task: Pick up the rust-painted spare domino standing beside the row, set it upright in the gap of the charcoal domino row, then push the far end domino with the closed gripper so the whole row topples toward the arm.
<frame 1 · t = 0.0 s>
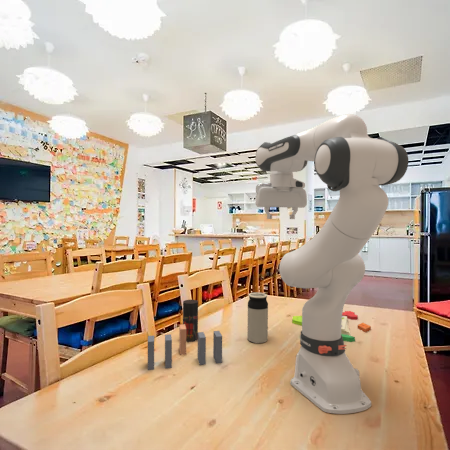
hand: (281, 219, 120), 48 cm above the table, fingers open, 8 cm apart
domino 3: (201, 361, 104), on the table
pattern blocks set: (329, 326, 141), on the table
spare domino: (182, 351, 111), on the table
domino 2: (168, 364, 101), on the table
domino 1: (151, 366, 100), on the table
domino 4: (217, 359, 105), on the table
deodorant: (190, 339, 123), on the table
travel mug: (257, 340, 123), on the table
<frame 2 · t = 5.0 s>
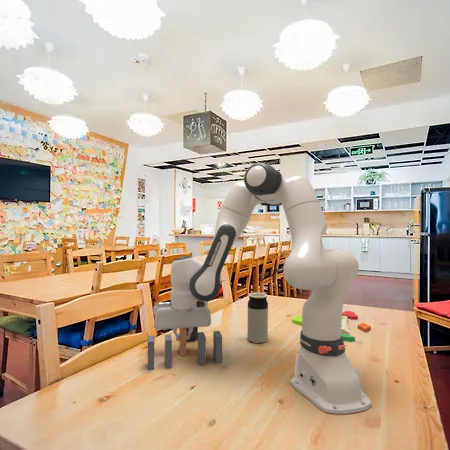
hand: (182, 339, 111), 4 cm above the table, fingers closed on spare domino, 2 cm apart
spare domino: (182, 351, 111), on the table, touching gripper
everything else where it was.
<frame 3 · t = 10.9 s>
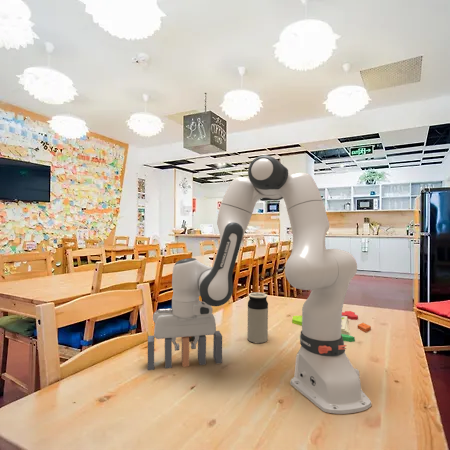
hand: (185, 349, 102), 5 cm above the table, fingers open, 4 cm apart
spare domino: (185, 362, 102), on the table
everything else where it was.
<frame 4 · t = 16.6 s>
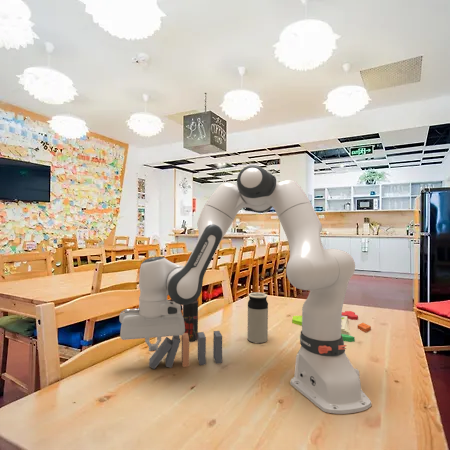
hand: (153, 350, 100), 5 cm above the table, fingers closed
domino 2: (168, 363, 101), on the table, tilted 18°
domino 1: (151, 364, 100), point 1 cm above the table, tilted 38°
everything else where it was.
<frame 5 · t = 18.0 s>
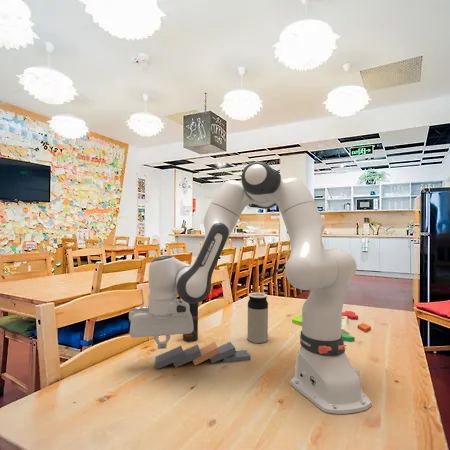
hand: (162, 348, 101), 6 cm above the table, fingers closed
domino 3: (209, 357, 104), point 1 cm above the table, tilted 74°, touching domino 4, spare domino
spare domino: (192, 359, 103), point 1 cm above the table, tilted 68°, touching domino 3
domino 2: (173, 361, 102), point 1 cm above the table, tilted 69°, touching domino 1
domino 1: (156, 362, 100), point 1 cm above the table, tilted 69°, touching domino 2
domino 4: (222, 358, 105), on the table, tilted 90°, touching domino 3
everything else where it was.
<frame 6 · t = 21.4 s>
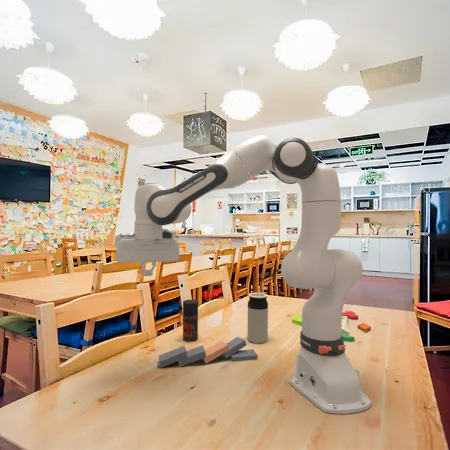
hand: (148, 275, 101), 29 cm above the table, fingers closed
domino 3: (221, 353, 106), point 1 cm above the table, tilted 72°, touching domino 4, spare domino
spare domino: (202, 358, 104), point 1 cm above the table, tilted 71°, touching domino 2, domino 3
domino 2: (178, 360, 102), point 1 cm above the table, tilted 73°, touching domino 1, spare domino
domino 1: (159, 361, 101), point 1 cm above the table, tilted 71°, touching domino 2
domino 4: (230, 357, 106), on the table, tilted 90°, touching domino 3
everything else where it was.
at the end: domino 4 tilted 90°; spare domino tilted 71°; spare domino inside the target area (4.3 cm from its centre), point 1.1 cm above the table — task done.
